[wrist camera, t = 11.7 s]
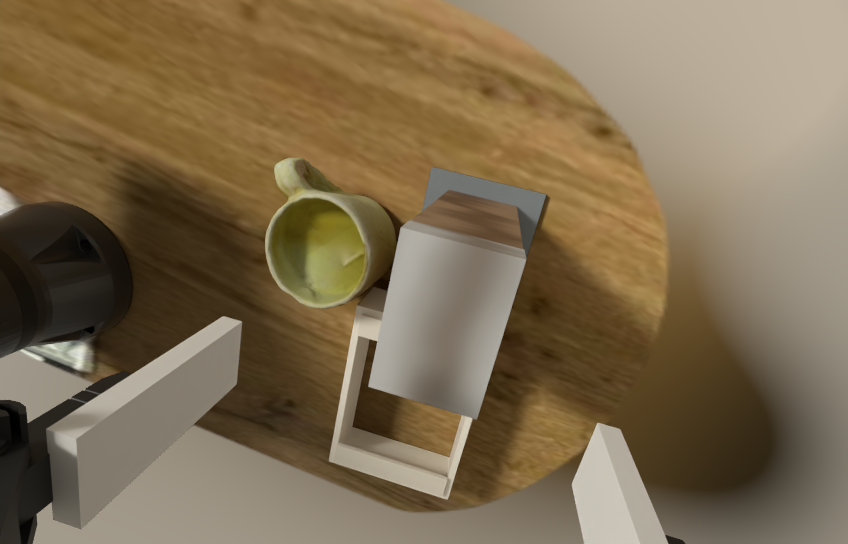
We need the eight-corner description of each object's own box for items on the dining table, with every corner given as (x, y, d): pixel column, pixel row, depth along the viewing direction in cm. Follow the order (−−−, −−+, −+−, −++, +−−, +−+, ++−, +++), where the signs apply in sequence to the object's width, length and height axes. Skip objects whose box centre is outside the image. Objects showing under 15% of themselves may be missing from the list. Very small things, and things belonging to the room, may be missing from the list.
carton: (346, 429, 47) (327, 464, 42) (373, 287, 42) (355, 306, 37) (454, 463, 46) (447, 503, 41) (497, 320, 41) (495, 346, 36)
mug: (426, 288, 39) (356, 311, 31) (341, 294, 44) (260, 315, 36) (408, 152, 38) (330, 136, 30) (323, 175, 44) (236, 167, 35)
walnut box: (426, 284, 41) (368, 386, 24) (448, 188, 38) (400, 227, 21) (489, 301, 40) (476, 419, 23) (517, 205, 37) (526, 259, 20)
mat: (405, 291, 42) (404, 293, 41) (432, 166, 38) (431, 167, 37) (507, 319, 40) (507, 321, 40) (545, 194, 37) (546, 194, 36)
